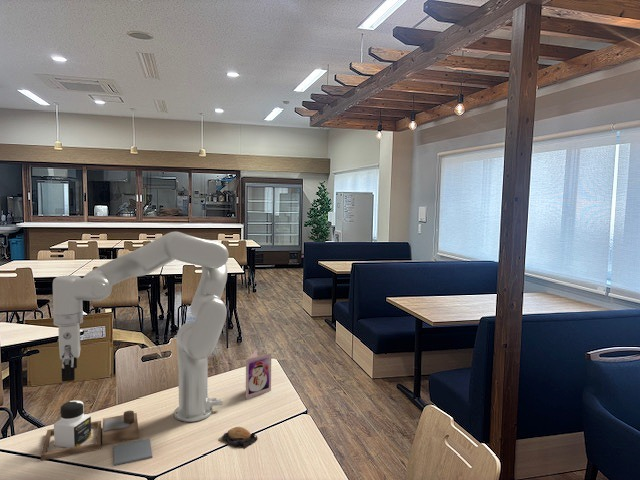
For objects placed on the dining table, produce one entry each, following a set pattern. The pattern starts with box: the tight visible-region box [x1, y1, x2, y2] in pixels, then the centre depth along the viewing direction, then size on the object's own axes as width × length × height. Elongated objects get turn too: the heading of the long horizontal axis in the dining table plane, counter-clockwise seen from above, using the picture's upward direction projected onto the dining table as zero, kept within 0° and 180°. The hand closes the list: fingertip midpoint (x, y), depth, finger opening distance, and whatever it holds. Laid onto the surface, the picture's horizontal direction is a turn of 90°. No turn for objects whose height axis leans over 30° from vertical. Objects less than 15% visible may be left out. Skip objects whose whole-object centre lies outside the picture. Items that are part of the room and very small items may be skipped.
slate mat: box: [113, 437, 154, 466], centre depth 131 cm, size 10×10×1 cm
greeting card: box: [245, 349, 272, 400], centre depth 171 cm, size 11×7×15 cm, turn 132°
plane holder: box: [40, 410, 140, 461], centre depth 138 cm, size 26×15×6 cm, turn 115°
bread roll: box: [217, 426, 258, 449], centre depth 139 cm, size 11×8×4 cm
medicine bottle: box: [53, 400, 92, 449], centre depth 135 cm, size 7×7×12 cm
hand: (69, 374), depth 134 cm, fingers open, 9 cm apart
